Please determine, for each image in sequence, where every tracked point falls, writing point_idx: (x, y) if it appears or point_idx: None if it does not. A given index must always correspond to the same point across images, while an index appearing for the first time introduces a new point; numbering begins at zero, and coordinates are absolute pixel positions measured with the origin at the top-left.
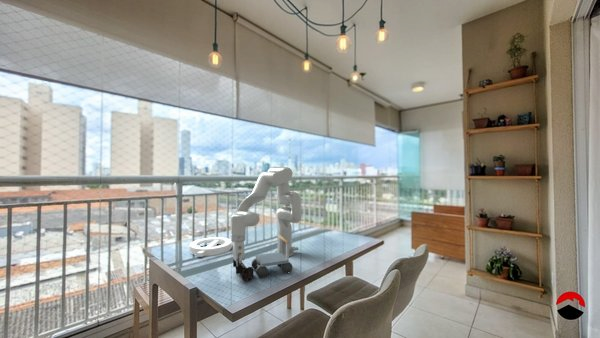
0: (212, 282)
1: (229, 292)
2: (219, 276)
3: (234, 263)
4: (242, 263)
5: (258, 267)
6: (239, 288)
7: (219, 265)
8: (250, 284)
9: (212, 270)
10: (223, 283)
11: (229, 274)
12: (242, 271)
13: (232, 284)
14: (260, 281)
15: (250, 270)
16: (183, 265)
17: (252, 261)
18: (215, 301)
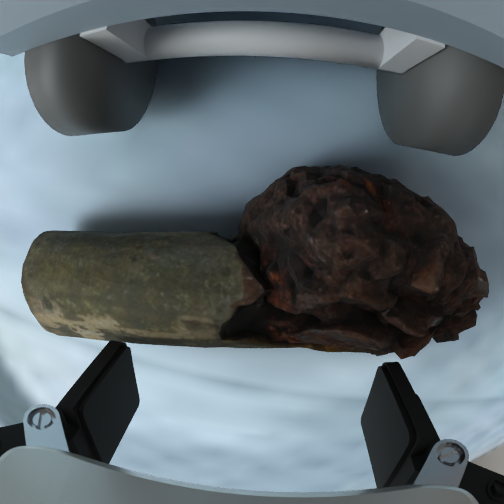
0: (270, 483)
1: (473, 411)
2: (184, 444)
3: (121, 424)
4: (56, 277)
5: (466, 108)
6: (480, 354)
7: (3, 377)
8: (484, 258)
9: None
10: (330, 443)
11: (167, 384)
12: (334, 346)
13: None
14: (480, 144)
15: (464, 267)
16: None
17: (58, 118)
18: (486, 454)
